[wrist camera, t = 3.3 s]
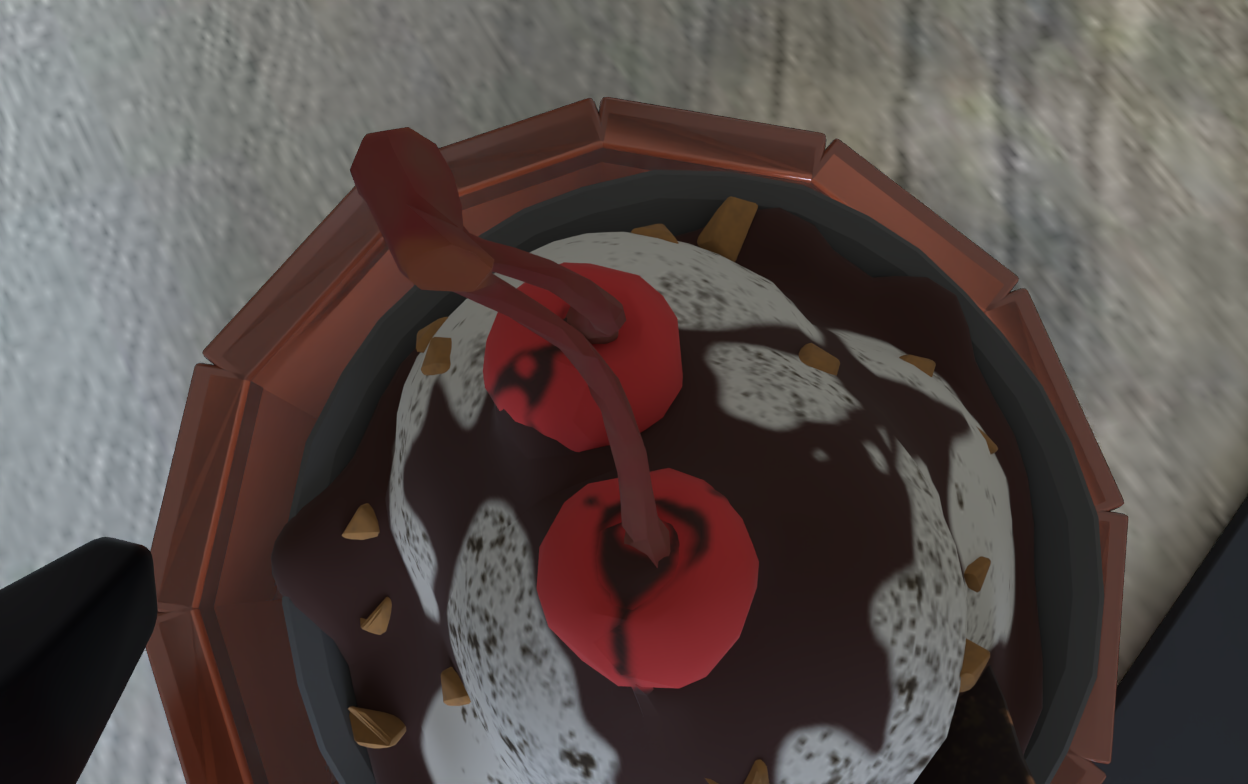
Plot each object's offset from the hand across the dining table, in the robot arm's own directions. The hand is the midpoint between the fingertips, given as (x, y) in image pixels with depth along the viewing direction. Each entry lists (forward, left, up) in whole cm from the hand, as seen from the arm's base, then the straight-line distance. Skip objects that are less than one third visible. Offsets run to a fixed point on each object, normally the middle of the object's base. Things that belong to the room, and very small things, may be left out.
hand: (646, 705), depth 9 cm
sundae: (+1, +1, -9) cm, 10 cm away
